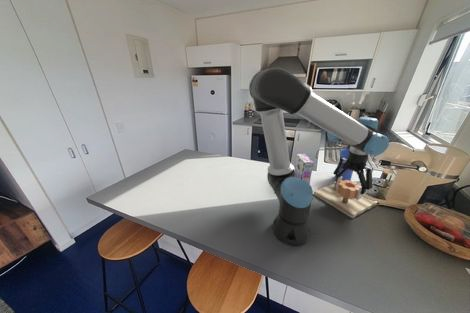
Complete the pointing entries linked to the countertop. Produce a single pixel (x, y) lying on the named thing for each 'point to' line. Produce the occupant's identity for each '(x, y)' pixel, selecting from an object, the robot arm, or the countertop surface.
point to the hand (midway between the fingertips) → (347, 193)
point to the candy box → (303, 167)
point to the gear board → (344, 207)
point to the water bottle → (345, 164)
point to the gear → (348, 189)
